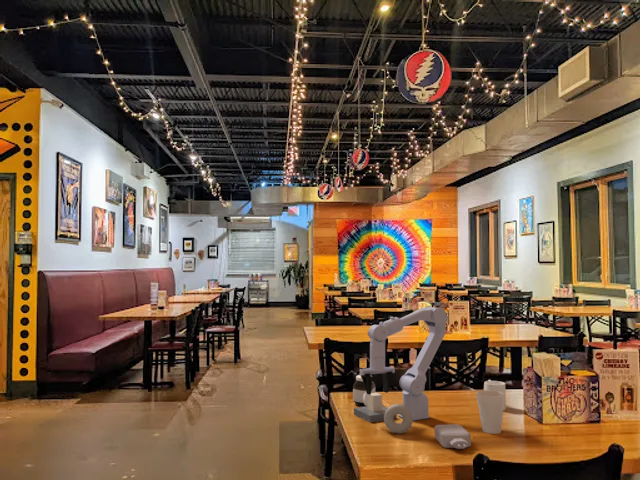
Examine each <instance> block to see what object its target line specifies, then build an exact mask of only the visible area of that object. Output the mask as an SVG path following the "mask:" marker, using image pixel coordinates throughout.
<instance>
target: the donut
mask: <svg viewBox="0 0 640 480" xmlns="http://www.w3.org/2000/svg"><path fill="white" fill-rule="evenodd" d="M387 408H388V409H387V410H386V412H385V414H384V420H383V421H384V424H385V426H386V428H387V429H388V430H389V431H390V432H391V433H393V434H398V435H399V434H404V433H406V432H407V431H409V430H410V429H411V427H412V425H413V418H412V414H411V412H410V410H409V409H408V408H407V407H406V406H404V405H403V404H401V403H394V404H391V405H390V406H388V407H387ZM396 414H397V415H402V417H403V418H402V417H401V418H402V421H401V422H396V421H395V419H393V418H394V416H395V415H396Z"/></svg>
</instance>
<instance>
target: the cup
mask: <svg viewBox="0 0 640 480" xmlns="http://www.w3.org/2000/svg"><path fill="white" fill-rule="evenodd" d="M483 384H484V387H483V388H484V390H491V391H498V392H502V393H504V396H505V402H504V408H503V411H505V410H507V397H506V382H504V381H498V380H491V379H488V380H486V381H484V383H483Z"/></svg>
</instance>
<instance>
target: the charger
mask: <svg viewBox="0 0 640 480" xmlns="http://www.w3.org/2000/svg"><path fill="white" fill-rule="evenodd" d="M471 437H472V436H471V433H469V432H468V431H467V430H466V429H465V428H464V427H463V426H462V425H461V424H456V423H455V424H451V423H450V424H436V425H435V426H434V438H435V439H436V440H437V442H438V443H439V444H440V445H441V446H442V447H443V448H445V449H449V448H450V449H453V448H455V449H457V450H459V449H466V448H469V447H471V445H472V444H471V443H472V441H471V439H472V438H471Z"/></svg>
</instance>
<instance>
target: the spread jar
mask: <svg viewBox="0 0 640 480" xmlns="http://www.w3.org/2000/svg"><path fill="white" fill-rule="evenodd" d="M371 377H373V376H372V375H371ZM355 379H356V380H355V382H354V383H353V386H352V388H353V389H352V394H353V395H352V399H353V402H354V403H355V405H357V406H358V407H365V406H368V394H367V393H366V388H365V385H364V382H363V380H362V378H361V375H360V374H358V375H356V377H355ZM371 393H376V384H375V382H374V381H373V380H372V384H371Z"/></svg>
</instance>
